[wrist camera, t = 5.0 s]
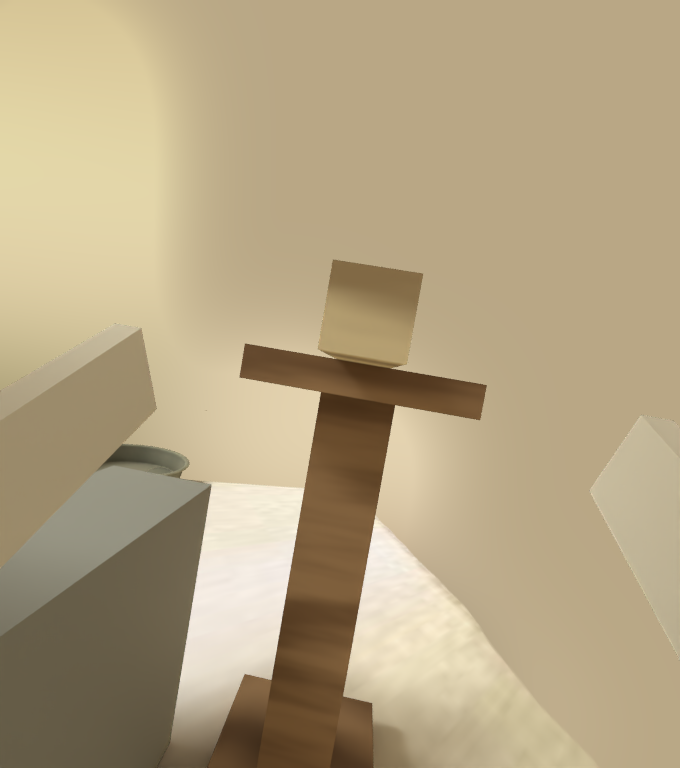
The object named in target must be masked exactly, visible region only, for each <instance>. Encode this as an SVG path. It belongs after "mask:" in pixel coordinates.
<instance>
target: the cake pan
mask: <svg viewBox="0 0 680 768" xmlns="http://www.w3.org/2000/svg"><path fill="white" fill-rule="evenodd" d="M113 465H114V466H119V467H124V468H129V469H134V470H140V471H145V472H150V473H155V474H160V475H165V476H170V477H175V478H180V476H181V473H182V471H183V470H185V469H186V468H187V467H188V466H189V460H188V459H187V458H186V457H185V456H183V455H181V454H179V453H177V452H174V451H171V450H167V449H163V448H159V447H153V446H144V445H133V444H122V445H121V446H120V447H119V448H118V449H117V450H116V451H115V452H114V453H113V454H112V455H111V456H110V457H109V458H108V459H107V460H106V461H105V462H104V463H103V464H102V465H101V466H100V467H99V468H98V469H97V470H96V471H95V472H97V471H100V470H102V469H105V468H108V467H111V466H113Z"/></svg>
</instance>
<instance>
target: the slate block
mask: <svg viewBox="0 0 680 768" xmlns="http://www.w3.org/2000/svg"><path fill="white" fill-rule="evenodd" d="M210 491H211V485H210V484H205V483H200V482H195V481H190V480H185V479H180V478H175V477H170V476H165V475H160V474H155V473H150V472H145V471H140V470H134V469H129V468H124V467H119V466H114V465H113V466H111V467H108V468H105V469H102V470H100V471H97V472H94V473H93V474H92V475H91V476H90V477H89V479H88V480H87V481H86V482H85V483H84V484H83V485H82V486H81V487H80V488H79V489H78V490H77V491H76V492H75V493H74V494H73V495H72V496H71V497H70V498H69V499H68V500H67V501H66V502H65V503H64V504H63V505H62V506H61V507H60V508H59V509H58V510H57V511H56V512H55V513H54V514H53V515H52V516H51V517H50V518H49V519H48V520H47V521H46V522H45V523H44V524H43V525H42V526H41V527H40V528H39V530H38V531H37V532H36V533H35V534H34V535H33V536H32V537H31V538H30V539H29V540H28V541H27V542H26V543H25V544H24V545H23V546H22V547H21V548H20V549H19V550H18V551H17V552H16V553H15V554H14V555H13V556H12V557H11V558H10V559H9V560H8V561H7V562H6V563H5V564H4V565H3V566H2V567H1V568H0V768H156V767H157V765H158V764H159V762H160V760H161V758H162V756H163V754H164V752H165V750H166V748H167V747H168V745H169V743H170V737H171V731H172V725H173V719H174V713H175V707H176V701H177V694H178V688H179V682H180V676H181V670H182V664H183V657H184V651H185V645H186V639H187V633H188V627H189V620H190V614H191V608H192V602H193V596H194V590H195V583H196V577H197V571H198V565H199V559H200V553H201V546H202V540H203V534H204V528H205V522H206V516H207V509H208V503H209V497H210Z"/></svg>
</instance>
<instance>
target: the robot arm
mask: <svg viewBox="0 0 680 768" xmlns="http://www.w3.org/2000/svg"><path fill="white" fill-rule="evenodd" d="M156 409H157V408H156V402H155V397H154V392H153V387H152V381H151V376H150V371H149V366H148V361H147V355H146V350H145V345H144V340H143V335H142V329H141V328H138V327H132V326H127V325H121V324H113V325H111V326H110V327H108V328H106V329H105V330H103V331H101V332H99V333H98V334H96V335H94V336H93V337H91V338H89V339H87V340H86V341H84V342H82V343H81V344H79V345H77V346H75V347H74V348H72V349H70V350H69V351H67V352H65V353H64V354H62V355H60V356H58V357H57V358H55V359H53V360H52V361H50V362H48V363H46V364H45V365H43V366H41V367H40V368H38V369H36V370H34V371H33V372H31V373H29V374H27V375H26V376H24V377H22V378H21V379H19V380H17V381H15V382H14V383H12V384H10V385H9V386H7V387H5V388H3V389H2V390H0V568H1V567H2V566H3V565H4V564H5V563H6V562H7V561H8V560H9V559H10V558H11V557H12V556H13V555H14V554H15V553H16V552H17V551H18V550H19V549H20V548H21V547H22V546H23V545H24V544H25V543H26V542H27V541H28V540H29V539H30V538H31V537H32V536H33V535H34V534H35V533H36V532H37V531H38V530H39V528H40V527H41V526H42V525H43V524H44V523H45V522H46V521H47V520H48V519H49V518H50V517H51V516H52V515H53V514H54V513H55V512H56V511H57V510H58V509H59V508H60V507H61V506H62V505H63V504H64V503H65V502H66V501H67V500H68V499H69V498H70V497H71V496H72V495H73V494H74V493H75V492H76V491H77V490H78V489H79V488H80V487H81V486H82V485H83V484H84V483H85V482H86V481H87V480H88V479H89V477H90V476H91V475H92V474H93V473H94V472H95V471H96V470H97V469H98V468H99V467H100V466H101V465H102V464H103V463H104V462H105V461H106V460H107V459H108V458H109V457H110V456H111V455H112V454H113V453H114V452H115V451H116V450H117V449H118V448H119V447H120V446H121V445H122V444H123V443H124V442H125V441H126V440H127V439H128V438H129V437H130V436H131V435H132V434H133V433H134V432H135V431H136V430H137V429H138V427H139V426H140V425H141V424H142V423H143V422H144V421H145V420H146V419H147V418H148V417H149V416H150V415H151V414H152V413H153V412H154V411H155V410H156ZM589 491H590V493H591V495H592V497H593V499H594V501H595V503H596V505H597V507H598V508H599V510H600V512H601V514H602V516H603V518H604V519H605V522H606V523H607V525H608V527H609V529H610V531H611V533H612V535H613V536H614V538H615V540H616V542H617V544H618V546H619V548H620V550H621V551H622V553H623V555H624V557H625V559H626V561H627V562H628V565H629V566H630V568H631V570H632V572H633V574H634V576H635V578H636V579H637V581H638V583H639V585H640V587H641V589H642V591H643V592H644V595H645V596H646V598H647V600H648V602H649V604H650V606H651V607H652V610H653V611H654V613H655V615H656V617H657V619H658V620H659V622H660V624H661V626H662V628H663V630H664V632H665V634H666V636H667V638H668V639H669V641H670V643H671V645H672V647H673V649H674V651H675V653H676V654H677V656H678V658H679V660H680V427H679V426H678V425H677V424H676V423H675V422H674V421H673V420H668V419H662V418H656V417H650V416H644V415H641V416H640V417H639V419H638V420H637V422H636V423H635V425H634V426H633V427H632V429H631V431H630V432H629V433H628V435H627V436H626V438H625V439H624V441H623V442H622V443H621V445H620V447H619V448H618V450H617V451H616V452H615V454H614V455H613V457H612V458H611V460H610V461H609V463H608V464H607V465H606V467H605V468H604V470H603V471H602V473H601V474H600V476H599V477H598V479H597V480H596V481H595V483H594V484H593V486H592V487H591V489H590V490H589Z"/></svg>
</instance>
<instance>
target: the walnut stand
mask: <svg viewBox="0 0 680 768" xmlns="http://www.w3.org/2000/svg"><path fill="white" fill-rule="evenodd" d="M240 377H241V378H246V379H252V380H257V381H263V382H269V383H274V384H280V385H285V386H291V387H297V388H302V389H308V390H314V391H319V392H321V396H320V402H319V408H318V414H317V420H316V425H315V431H314V437H313V443H312V448H311V454H310V460H309V466H308V472H307V478H306V483H305V489H304V495H303V501H302V507H301V512H300V518H299V524H298V530H297V536H296V541H295V547H294V553H293V559H292V565H291V571H290V576H289V582H288V588H287V594H286V600H285V605H284V611H283V617H282V623H281V629H280V635H279V640H278V646H277V652H276V658H275V664H274V669H273V675H272V680H268V679H264V678H259V677H255V676H251V675H246V674H245V675H244V677H243V680H242V682H241V685H240V687H239V690H238V692H237V695H236V697H235V700H234V702H233V705H232V707H231V710H230V712H229V715H228V717H227V720H226V722H225V725H224V727H223V730H222V732H221V735H220V737H219V739H218V742H217V744H216V747H215V749H214V752H213V754H212V757H211V759H210V762H209V764H208V767H207V768H373V726H372V703H369V702H364V701H360V700H356V699H351V698H347V697H343V692H344V686H345V681H346V675H347V670H348V664H349V659H350V653H351V648H352V642H353V636H354V631H355V625H356V620H357V614H358V609H359V603H360V597H361V592H362V586H363V581H364V575H365V570H366V564H367V558H368V553H369V547H370V542H371V536H372V531H373V525H374V520H375V514H376V508H377V503H378V497H379V492H380V485H381V480H382V475H383V469H384V463H385V458H386V453H387V447H388V441H389V436H390V430H391V425H392V419H393V414H394V408H395V405H398V406H403V407H409V408H415V409H420V410H426V411H431V412H438V413H443V414H448V415H454V416H459V417H465V418H471V419H476V420H480V418H481V412H482V407H483V402H484V397H485V392H486V385H483V384H477V383H471V382H465V381H459V380H454V379H447V378H442V377H436V376H431V375H425V374H418V373H413V372H407V371H401V370H396V369H390V368H384V367H378V366H372V365H367V364H361V363H355V362H349V361H343V360H338V359H332V358H326V357H320V356H314V355H308V354H303V353H297V352H291V351H285V350H279V349H274V348H268V347H262V346H256V345H250V344H245V347H244V354H243V359H242V366H241V372H240Z"/></svg>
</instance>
